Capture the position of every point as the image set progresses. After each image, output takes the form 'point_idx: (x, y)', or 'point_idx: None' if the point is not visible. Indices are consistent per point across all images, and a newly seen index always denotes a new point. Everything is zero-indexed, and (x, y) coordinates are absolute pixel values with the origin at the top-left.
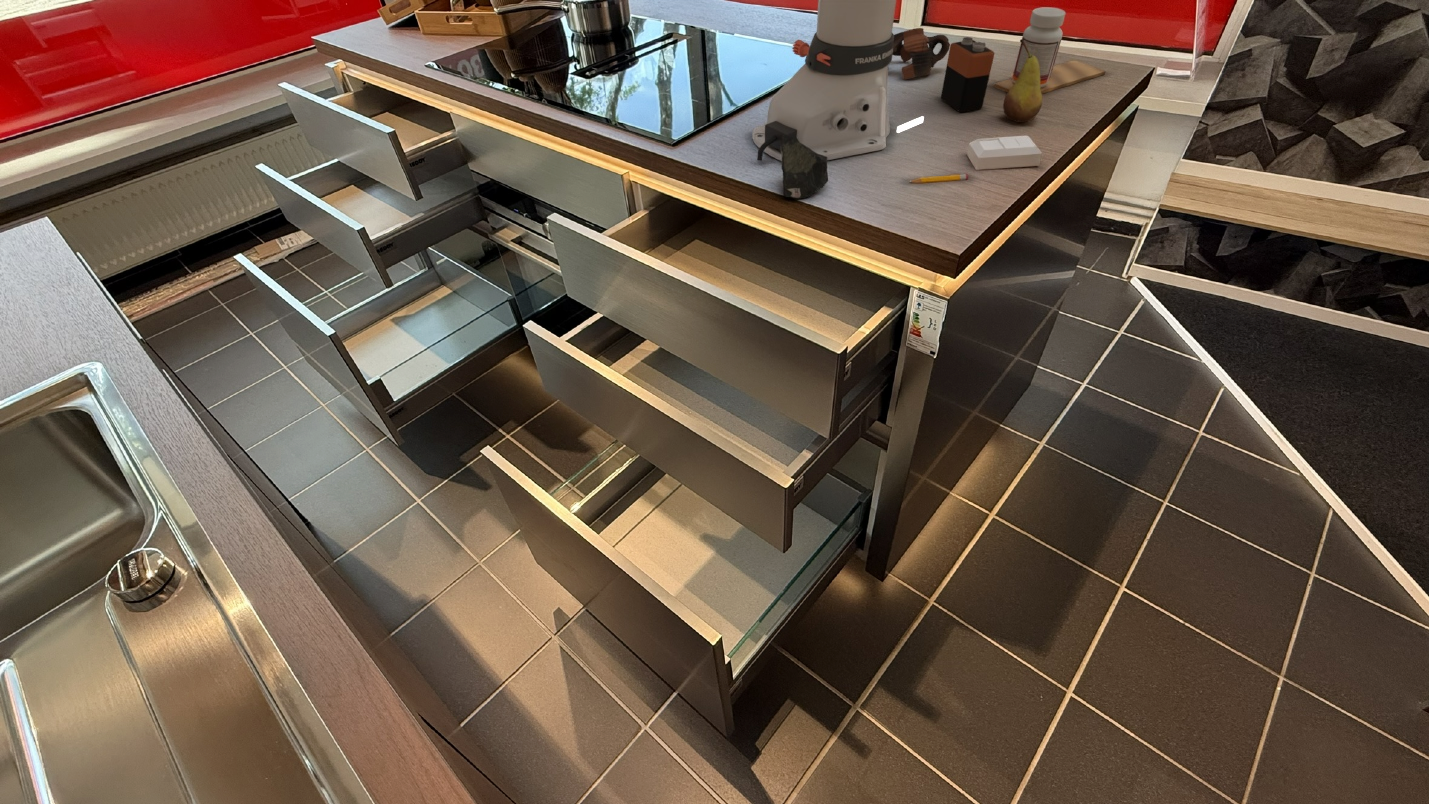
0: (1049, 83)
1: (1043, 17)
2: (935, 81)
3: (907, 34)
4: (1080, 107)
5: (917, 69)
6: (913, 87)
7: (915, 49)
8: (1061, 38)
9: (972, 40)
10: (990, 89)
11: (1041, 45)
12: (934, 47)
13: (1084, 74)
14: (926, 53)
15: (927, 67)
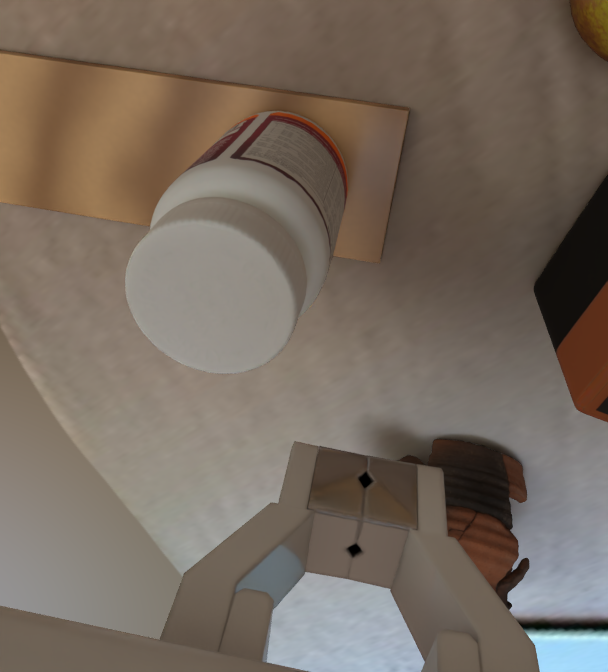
0: (229, 122)
1: (294, 281)
2: (466, 404)
3: None
4: None
5: (496, 469)
6: (558, 422)
7: (497, 529)
8: (196, 167)
9: (601, 405)
10: (405, 253)
11: (313, 197)
12: None
13: (49, 83)
14: (459, 499)
15: (455, 459)
